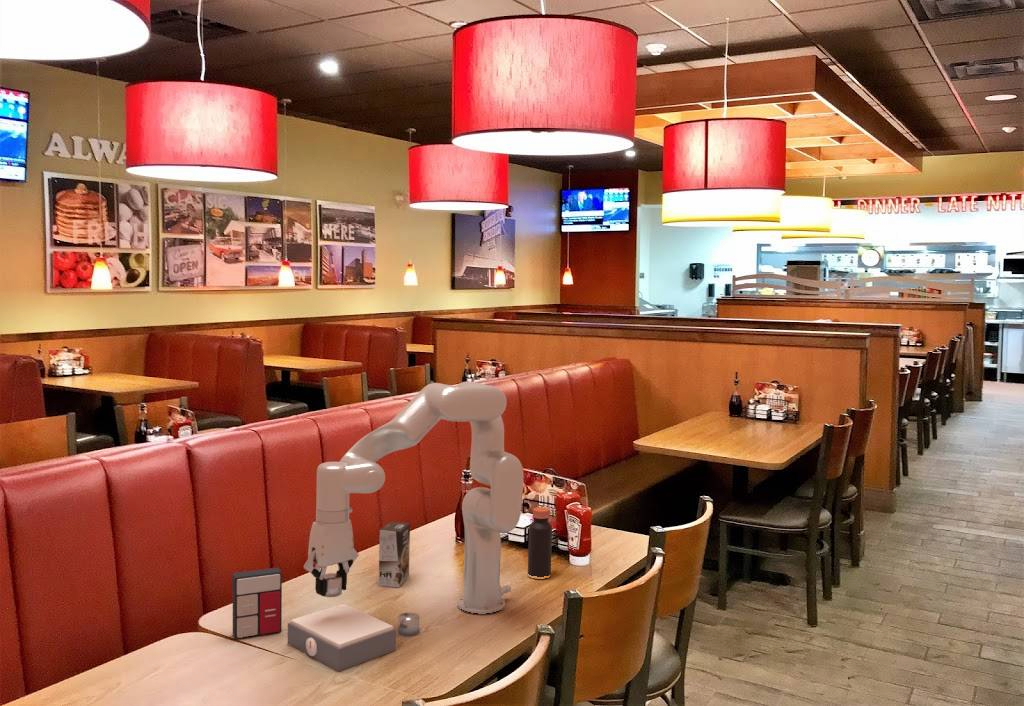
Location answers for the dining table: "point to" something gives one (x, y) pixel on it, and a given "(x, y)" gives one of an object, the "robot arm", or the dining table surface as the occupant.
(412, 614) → the cylinder
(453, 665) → the dining table surface
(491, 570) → the robot arm
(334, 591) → the cylinder
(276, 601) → the grey red panel
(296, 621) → the scale
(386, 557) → the coffee box
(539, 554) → the bottle
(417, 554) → the dining table surface
